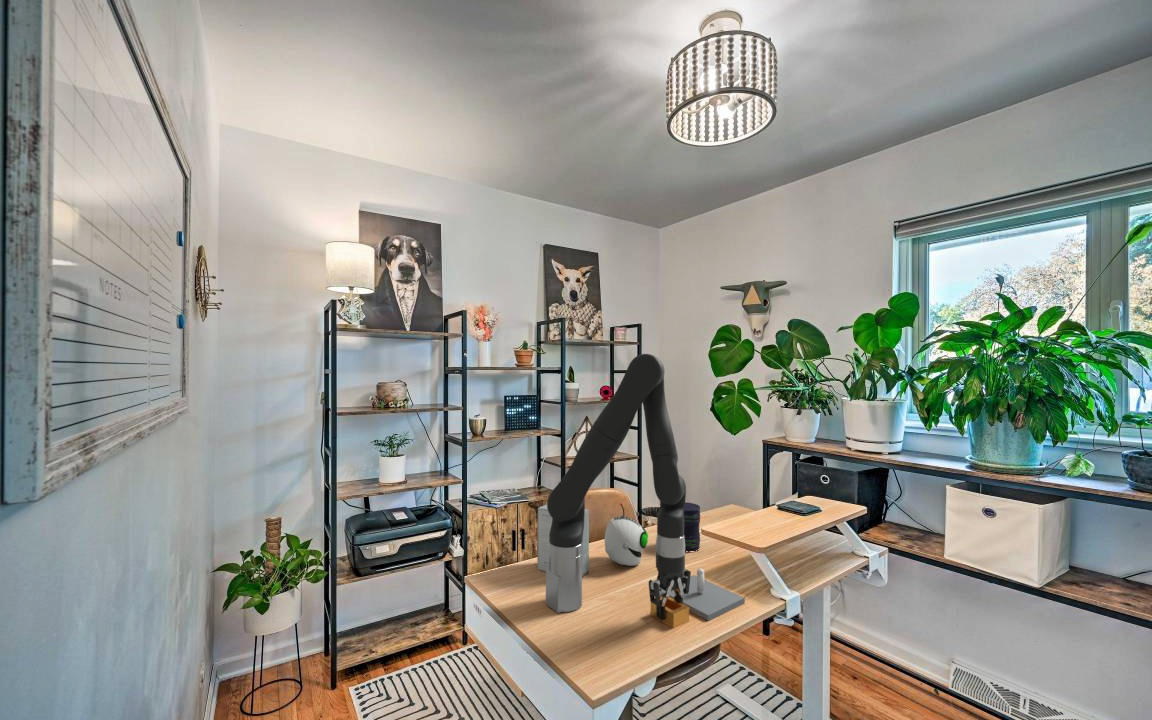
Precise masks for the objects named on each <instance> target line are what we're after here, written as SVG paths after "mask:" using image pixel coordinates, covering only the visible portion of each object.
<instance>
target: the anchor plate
mask: <svg viewBox="0 0 1152 720" xmlns="http://www.w3.org/2000/svg"><path fill="white" fill-rule="evenodd" d="M683 587H684V588H685V584H684V586H683ZM662 592H664V593H665V592H666V591H665V590H663V589H662ZM674 596H676V595H675V593H674V591H673V590H672V591H671V592H670V595H669V597H671V598H673V599H674ZM661 597H663V596H662V595H661ZM745 600H746V599H745V596H744V597H743V596H741V595H739V594H738V593H735V592H733V591H731V590H728V589H726V588H725V587H724V588H723V587H722V586H719V585H717V584H715V583H712V582H710V581H708V580H706V579H705V571H704V569H702V568H698V569H697V570H696V575H695V574H691V575H690V585H689V593H688V594H685V595H684V598H683V604H685V605H686V606H688V607H689V613H690V612H691V613H692V614H694V615H696V616H698V617H700V618H702V619H704V620H706V621H708V622H709V621H712V620H713V619H716V618H717V617H720V616H721V615H722V616H723V614H725V613H727V612H729V611H731V610H734V609H736V608H738V607H740V606H742V605H744V604H745Z"/></svg>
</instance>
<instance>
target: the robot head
mask: <svg viewBox="0 0 1152 720" xmlns="http://www.w3.org/2000/svg"><path fill="white" fill-rule="evenodd" d="M619 506H620V507H621V508H622V511H623V512H622V515H621V516H615V517H613V518H612V519H610V520H609V521H608V524H607V525H606V530H605V532H604V533H605V534H604V551H605V553H606V554H607V556H608V557H609V558H610V560H611V561H612V562H615V563H616V564H620V565H621V566H629V567H633V566H638V565H639V564H640V563H641V561H642V552H643V551H644V549H645V548H646V547H647V544H648V541H649V540H648V538H649V534H648V531H647V530H646V529H645V527H644V526H642V525H641V524H640V523H638V521H637V520H634V519H633V518H631V517H628V516H626V515H625V507H624V506H623V503H620V504H619Z"/></svg>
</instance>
